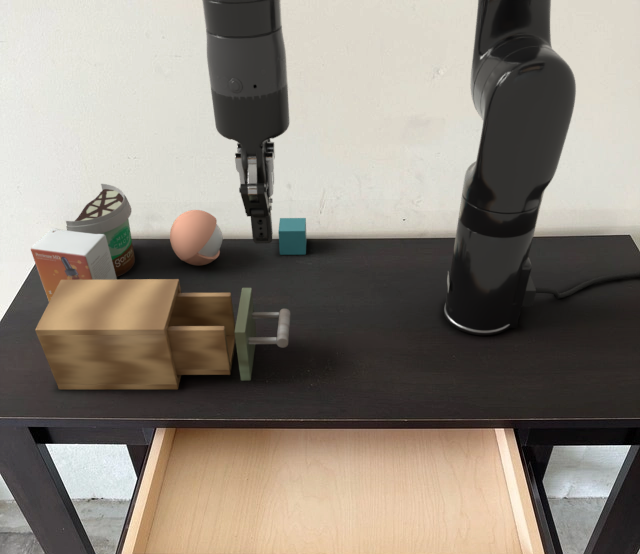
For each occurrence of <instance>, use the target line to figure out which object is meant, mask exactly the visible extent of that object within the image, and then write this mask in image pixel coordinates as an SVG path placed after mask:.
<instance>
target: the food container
mask: <svg viewBox="0 0 640 554" xmlns="http://www.w3.org/2000/svg"><path fill="white" fill-rule="evenodd" d="M100 186H101V191H100V192H99V193H98V195H97V196H96V197H95V198H94V199H93V200H91V201H90V202H88V203H86V205H85V206H84V208H83V209H82V210H81V212H80V214H78V216H77V218H76V219H75V220H65V223H66V226H65V227H66V230H67V231H75V232H83V233H91V234H104V235H105V236H106V239H107V243H108V247H109V251H110V255H111V259H112V262H113V266H114V270H115V274H116V278H118V277H120V276H122V275H124V274H126V273H128V272H129V271H130V270H131V269H132V268H133V267H134V265H135V261H136V257H135V251H134V246H133V245H134V244H133V239H132V232H131V225H130V219H129V218H130V217H131V215H132V207H131V204H130V201H129V200H128V198H127V196H126V195H125V194H124V192H123V191H122V190H121V189H120V188H119V187H116V186H114V185H111V184H106V183H100Z"/></svg>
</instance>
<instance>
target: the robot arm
mask: <svg viewBox="0 0 640 554" xmlns="http://www.w3.org/2000/svg"><path fill="white" fill-rule="evenodd" d="M201 1H202V10H203V17H204V25H205V32H206V33H205V34H206V63H207V69H208V78H209V86H210V93H211V101H212V108H213V116H214V123H215V129H216V132H218V134H219V135H220V136H222V137H223V138H225V139H226V140H227V139H228V140H232V141H234V142H237V143H236V150H237V152H235V153H234V162H235V170H236V172H237V173H238V175H239V183H240V185H239V188H238V192H239V194H240V197H241V200H242V205H243V207H244V213H245V215H246V217H250V225H251V234H252V241H253V243H254V244H270V243H271V242H272V241H273V233H274V232H273V222H272V221H273V220H272V211H273V208H272V207H273V197H272V196H273V195H274V188H275V186H274V185H275V158H276V147H275V146H276V145H275V144H276V143H275V141H272V140H274V139H275V138H278V137H280V136H282V135H284V133H286V131H287V130H288V129H289V126H290V109H289V108H290V107H289V86H288V85H289V84H288V69H287V67H288V66H287V53H286V51H287V50H286V44H285V39H284V33H283V25H282V24H283V23H282V8H281V0H201ZM551 6H552V0H477V9H476V10H477V11H476V21H475V29H474V31H475V32H474V40H473V49H472V51H473V52H472V59H471V68H470V69H471V70H470V83H469V85H470V96H471V100H472V104H473V106H474V108H475V110H476V113H477V114H478V116H479V117H480V119H481V120H482V128H481V132H480V133H481V134H480V139H479V144H478V150H477V155H476V160H475V161H473V162H472V163H471V164H469V166H468V167H467V169H466V170H465V173H464V177H463V184H462V189H461V190H462V191H461V197H460V206H459V212H458V218H457V226H456V233H455V238H454V246H453V253H452V258H451V265H450V272H449V271H447V275H446V276H447V278H446V284H447V292H446V296H445V303H444V306H443V307H444V308H443V315H444V318H445V319H446V321H447V323H448V324H450V325H451V326H452V327H453V328H455V329H457V330H458V331H461V332H463V333H466V334H470V335H474V336H494V335H498V334H501V333H504V332H505V331H507V330H509V329H516V328H517V327H518V324H519V319H520V316H521V312H522V307H533V305H534V302H535V301H534V300H535V297H536V294H549V295H553V297H554V299H564V298H566V297H569V296H571V295H574V294H575V293H577V292H579V291H581V290H583V289H585V288H586V287H589V286H592V285H595V284H598V283H603V282H606V281H612V280H619V279H628V278H637V277H640V270H638V271H630V272H622V273H614V274H608V275H607V274H606V275H603V276H599V277H595V278H591V279H589V280H586V281H584V282H582V283H580V284H578V285H576V286H574V287H572V288H571V289H568V290H566V291H563V292H559V291H558V290H557V289H555V288H549V287H536V286H535V284H534V281H533V279H532V276H531V271H532V262H531V259H530V257H529V255H530V251H531V247H532V244H533V239H534V235H535V232H536V227H537V223H538V219H539V214H540V210H541V206H542V202H543V199H544V194H545V191H546V189H547V188H548V187H549V185H550V183H551V182H552V180H553V179H554V177H555V174H556V172H557V169H558V167H559V162H560V159H561V156H562V153H563V149H564V146H565V142H566V139H567V136H568V133H569V129H570V125H571V122H572V118H573V113H574V108H575V103H576V96H577V83H576V77H575V75H574V72H573V70H572V68H571V67H570V64H568V63H567V61H566V60H565V59H564V58H563V57H562V56H561V55H559V53H558V52H556V51H555V50H554V49H553V47H552V38H551V35H552V34H551V11H552V9H551V8H552V7H551ZM271 139H272V140H271Z"/></svg>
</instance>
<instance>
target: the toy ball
mask: <svg viewBox="0 0 640 554" xmlns="http://www.w3.org/2000/svg"><path fill="white" fill-rule="evenodd" d="M217 222H218V221H217V218H216V217H215V216H214V215H213V214H211V213H210V212H207V211H205V210H200V209H190V210H188V211H184V212H182V213H180V215H178V216H177V217H176V218H175V220H174V221H173V222H172V225H171V227H170V231H169V241H170V246H171V248H172V250H173V252H174V253H175V255H176V257H178V259H180V260H181V261H183V262H185V263H187V264H189V265H192V266H205V265H208V264H211V263H212V262H214V261H215V260H216V259H217V258H218V257H219V256H220V253H221V251H220V250H221V247H222V244H223V242H224V241H223V240H224V235H223V232H222V230H221V228H220V226H219V225H218V223H217Z"/></svg>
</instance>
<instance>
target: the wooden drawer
mask: <svg viewBox="0 0 640 554" xmlns="http://www.w3.org/2000/svg"><path fill="white" fill-rule="evenodd" d="M232 298H233V297H232V293H231V292H182V293H177V296H176V300H175V303H174V306H173V310H172V313H171V317H170V320H169V324H168V327H167V335H168V339H169V344H170V348H171V352H172V357H173V361H174V366H175V370H176V375H181V376H230V375H231V373H232V369H233V363H234V362H233V361H234V356H235V350H236V353H237V354H236V355H237V362H238V370H239V377H240V381H252V375H253V367H254V359H255V351H256V345H276V346H277V347H278V348H281V349H282V348H287V347H288V345H289V339H290V327H291V311H290V310H289V308H281V309H280V310H279V311H260V312H259V311H255V306H254V297H253V288H252V287H242V288H241V292H240V298H239V304H238V310H237V314H236V321H235V312H234V306H233V299H232ZM261 319H264V320H265V319H267V320H269V319H272V320H273V319H276V320H277V319H278V320H277V321H278V322H277V332H276V336H272V337H271V336H258V335H257V334H258V333H257V327H256V326H257V325H256V320H261Z"/></svg>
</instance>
